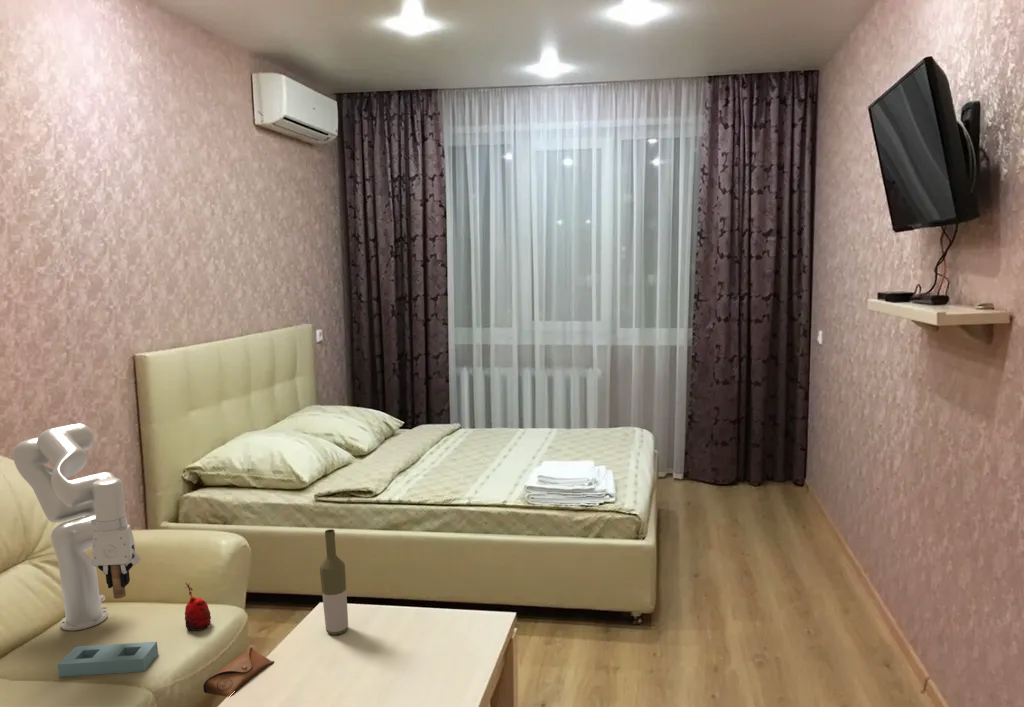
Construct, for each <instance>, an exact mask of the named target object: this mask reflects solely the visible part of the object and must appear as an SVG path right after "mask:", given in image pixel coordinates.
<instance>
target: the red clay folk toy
mask: <svg viewBox="0 0 1024 707" xmlns="http://www.w3.org/2000/svg"><path fill="white" fill-rule="evenodd" d="M185 585H186V587H184V588H185V589H186V588H188V591H189V592H188V595H189V596H190V598H189V601H188V602H187V604H186V605H185V610H184V620H185V628H186V629H187V630H189V631H201V630H205V628H206V629H207V628H209V627H210V625H211V620H212V616H211V612H210V609H209V605H208V603H207V601H206V600H204V599H203V598H201V597H196V596H193V595H192V591H193V590H194V589H193V588H192V587H191V586H190V581H189V582H188V583H187V582H185Z"/></svg>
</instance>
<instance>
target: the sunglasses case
mask: <svg viewBox="0 0 1024 707" xmlns="http://www.w3.org/2000/svg"><path fill="white" fill-rule="evenodd" d="M274 663H275V661H274V660H270V659H269V658H267V657H266V656H264V655H263V654H262V653H260V652H258V651H257V650H255V649H253V647H250V648H249V649H247V651H245V652H244V653H243V654H241V655H239V656H238V657H237V658H236V657H235V659H234V660H233V661H231V662H229V663H228V664H227V665H225V666H224V667H223V668H221V669H220V670H218V671H217V672H216V673H215V674H214V675H213V674H212V676H210V677H208V678H207V679H206V681H204V683H203V688H202V689H203V692H204V693H205V694H209V695H215V696H220V697H228V698H231V697H233V695H234V694H236V693H237V691H239V690H240V689H241V688H243V686H244V685H246V684H247V683H249V681H250V680H253V678H254V677H256V676H257V675H258V674H260V673H261V672H262V671H264V670H265V669H266V668H268V667H270V666H271V665H272V664H274ZM234 691H235V692H234ZM233 692H234V693H233ZM232 693H233V694H232ZM231 694H232V695H231ZM230 695H231V696H230ZM229 696H230V697H229Z"/></svg>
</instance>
